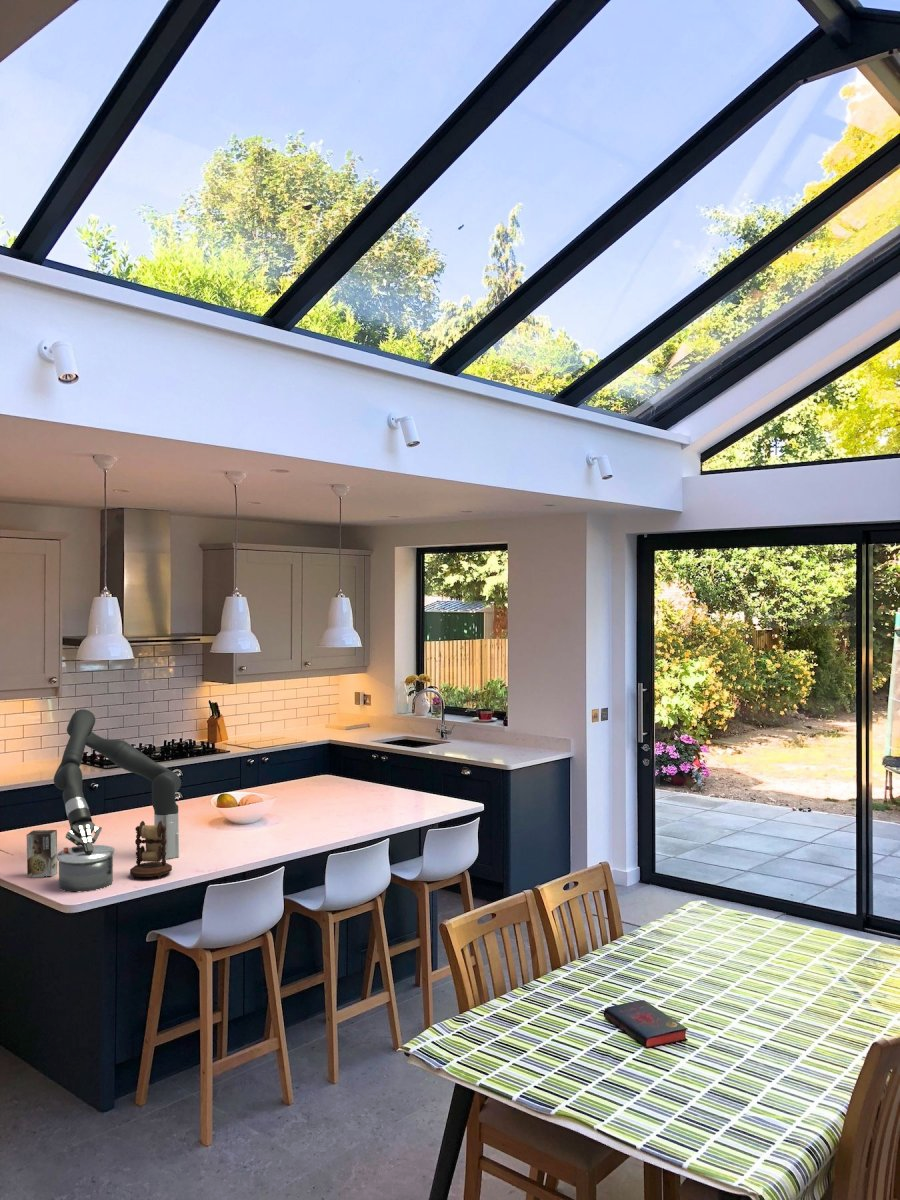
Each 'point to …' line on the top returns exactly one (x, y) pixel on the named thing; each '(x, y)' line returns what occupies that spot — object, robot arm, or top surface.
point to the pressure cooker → (85, 875)
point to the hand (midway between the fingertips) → (89, 853)
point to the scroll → (151, 851)
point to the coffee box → (41, 853)
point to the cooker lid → (85, 854)
